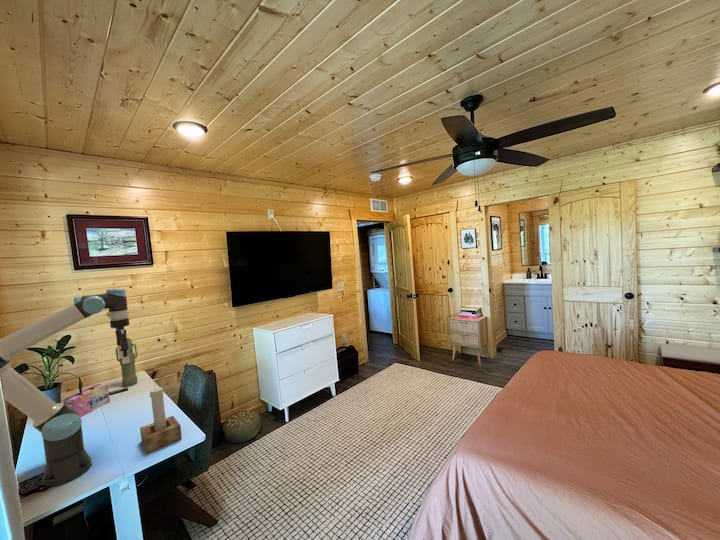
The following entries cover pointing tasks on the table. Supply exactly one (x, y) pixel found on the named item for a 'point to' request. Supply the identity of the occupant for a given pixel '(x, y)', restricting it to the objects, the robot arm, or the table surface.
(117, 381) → the table surface
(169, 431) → the socket block
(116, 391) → the multiport hub
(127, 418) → the table surface
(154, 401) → the cream tapered cylinder
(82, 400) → the gum box
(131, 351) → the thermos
